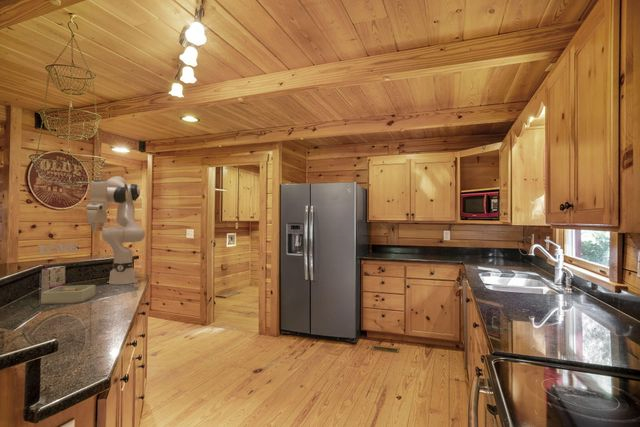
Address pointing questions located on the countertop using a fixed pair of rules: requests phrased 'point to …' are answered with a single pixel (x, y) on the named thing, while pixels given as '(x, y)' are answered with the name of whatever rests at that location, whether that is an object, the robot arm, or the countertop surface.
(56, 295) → the box
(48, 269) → the candy bar box
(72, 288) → the ash block
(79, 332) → the countertop surface
